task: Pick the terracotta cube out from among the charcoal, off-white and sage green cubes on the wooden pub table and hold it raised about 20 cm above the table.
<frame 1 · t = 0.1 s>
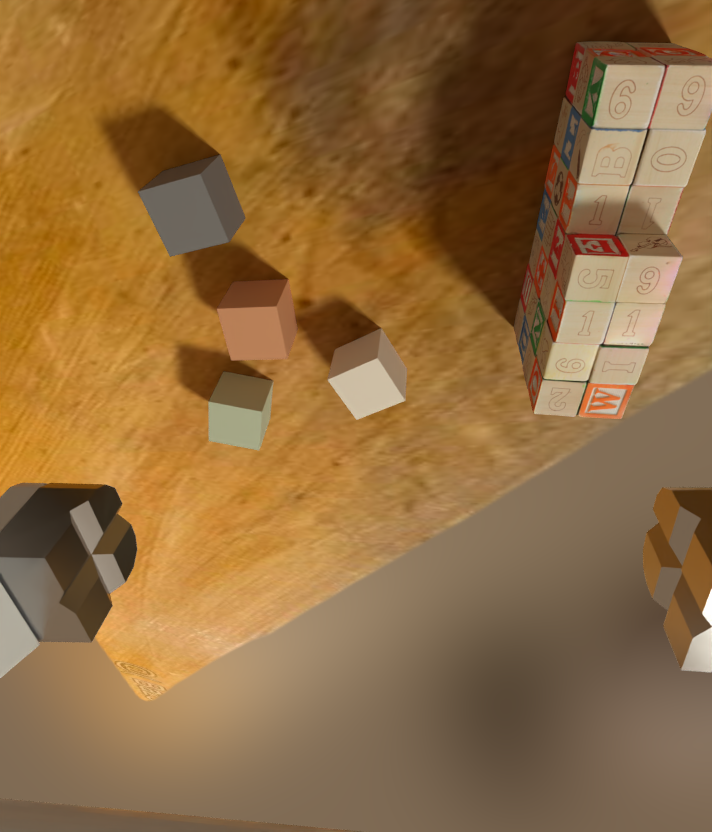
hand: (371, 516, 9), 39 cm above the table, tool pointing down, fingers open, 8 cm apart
stack of blocks: (579, 207, 43), on the table
terracotta cube: (266, 305, 51), on the table
sage green cube: (247, 395, 58), on the table
charcoal cube: (205, 194, 45), on the table
off-white cube: (371, 358, 54), on the table
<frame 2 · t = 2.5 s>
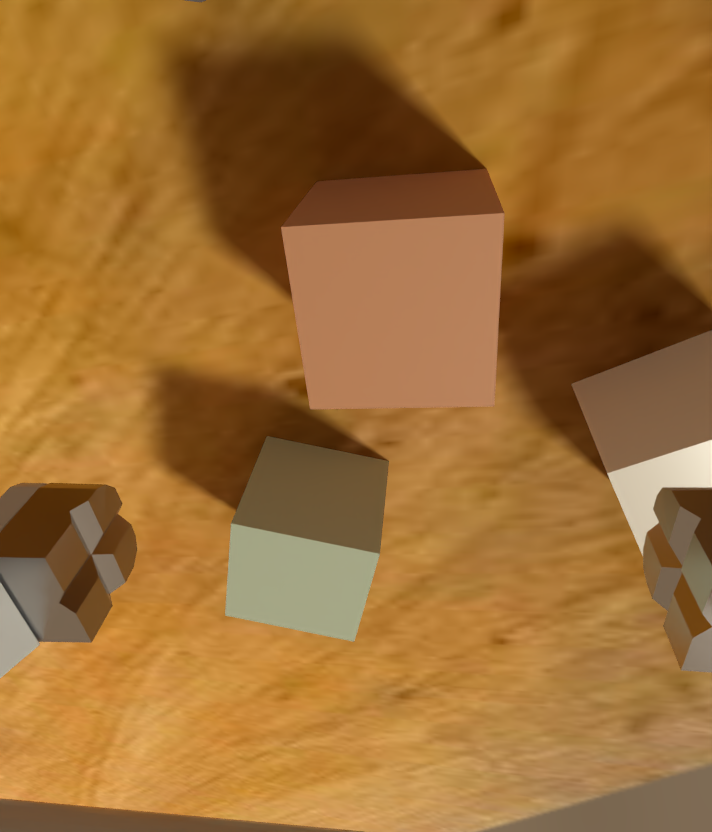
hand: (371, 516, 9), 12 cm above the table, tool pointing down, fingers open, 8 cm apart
terracotta cube: (403, 257, 18), on the table
sage green cube: (319, 492, 24), on the table
off-white cube: (663, 410, 20), on the table
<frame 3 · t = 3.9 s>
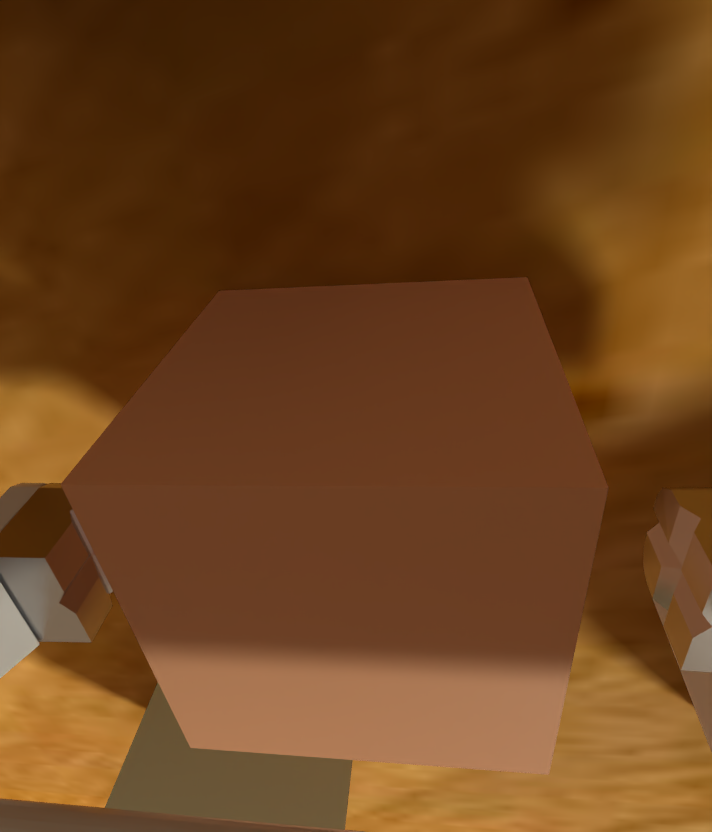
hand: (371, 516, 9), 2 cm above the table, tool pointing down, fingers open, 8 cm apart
terracotta cube: (377, 410, 11), on the table
sage green cube: (263, 696, 17), on the table
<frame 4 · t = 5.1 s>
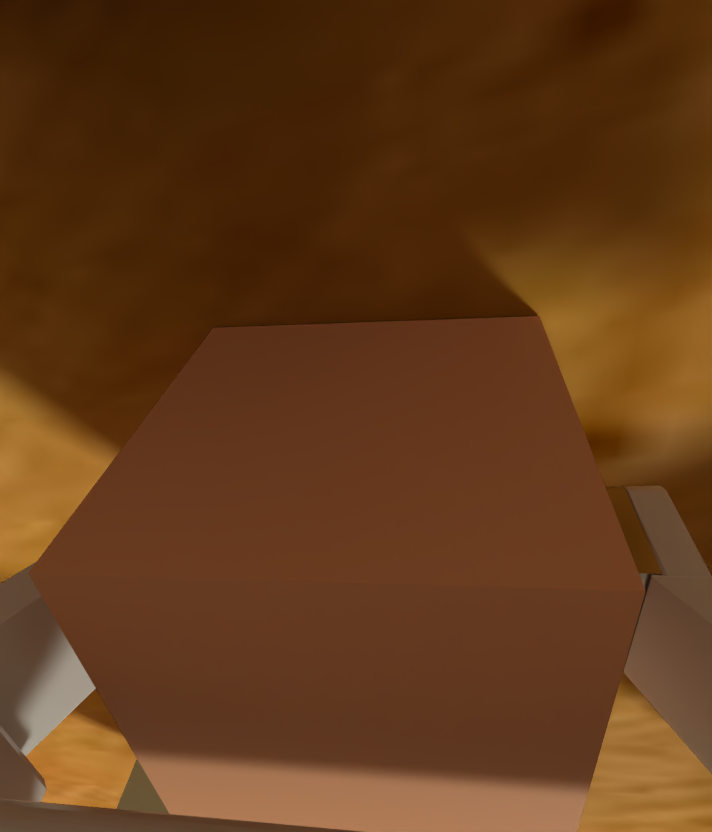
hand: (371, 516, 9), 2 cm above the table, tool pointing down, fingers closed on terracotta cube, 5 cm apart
terracotta cube: (380, 452, 10), on the table, touching gripper
sage green cube: (262, 731, 16), on the table
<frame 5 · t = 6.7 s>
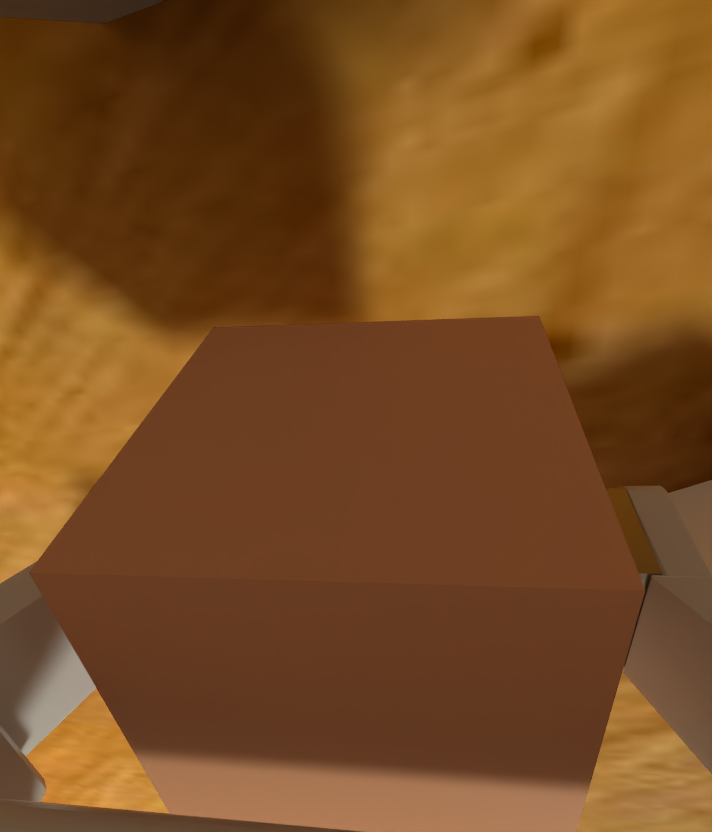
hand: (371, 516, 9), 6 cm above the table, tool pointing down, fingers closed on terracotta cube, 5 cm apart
terracotta cube: (380, 452, 10), point 4 cm above the table, touching gripper
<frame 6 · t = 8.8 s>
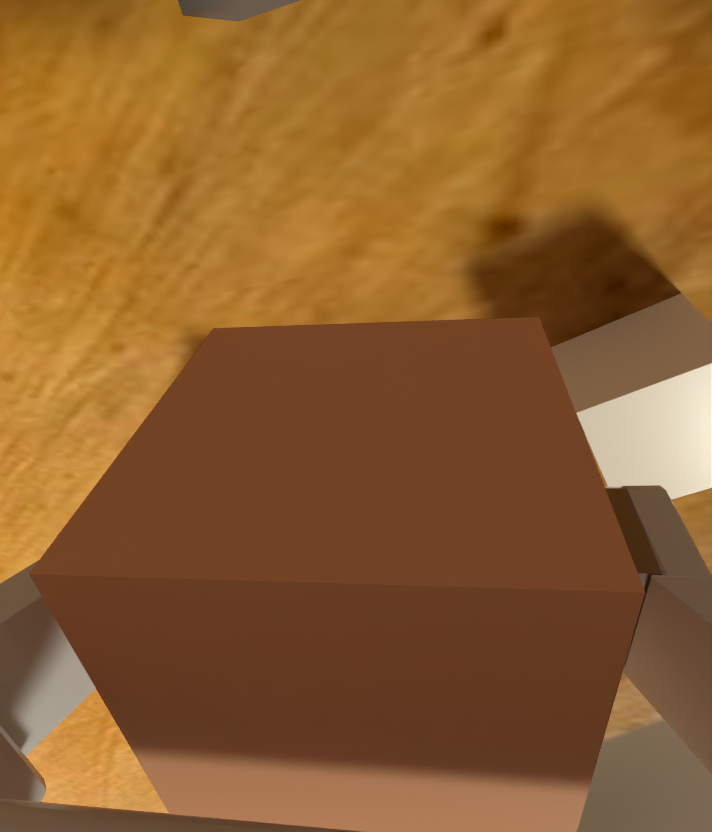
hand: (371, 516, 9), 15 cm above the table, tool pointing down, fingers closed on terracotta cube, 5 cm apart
terracotta cube: (380, 453, 10), point 13 cm above the table, touching gripper
off-white cube: (631, 370, 23), on the table
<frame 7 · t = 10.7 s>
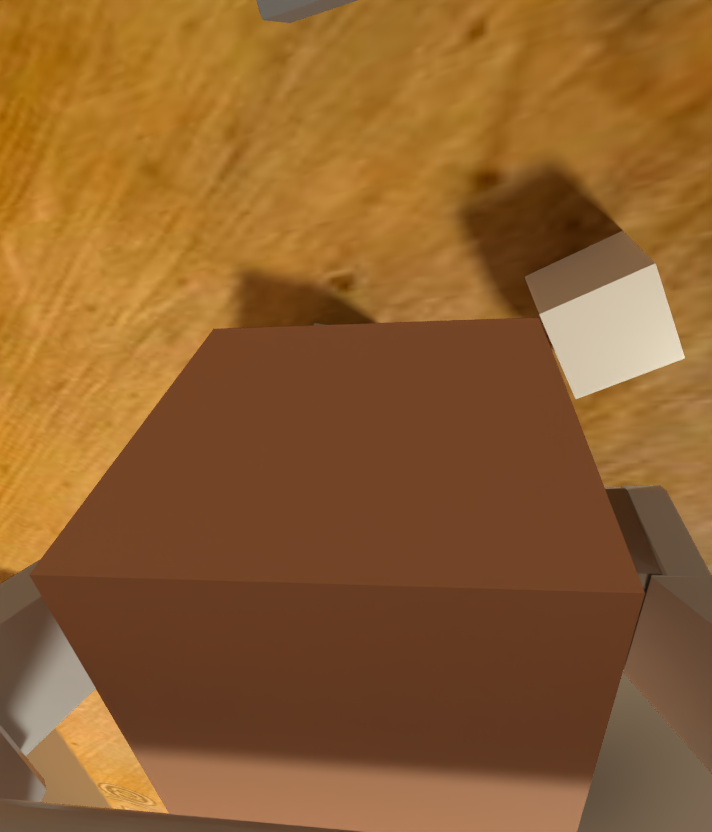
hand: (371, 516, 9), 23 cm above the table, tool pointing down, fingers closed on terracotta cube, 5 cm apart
terracotta cube: (380, 453, 10), point 21 cm above the table, touching gripper
off-white cube: (587, 295, 30), on the table
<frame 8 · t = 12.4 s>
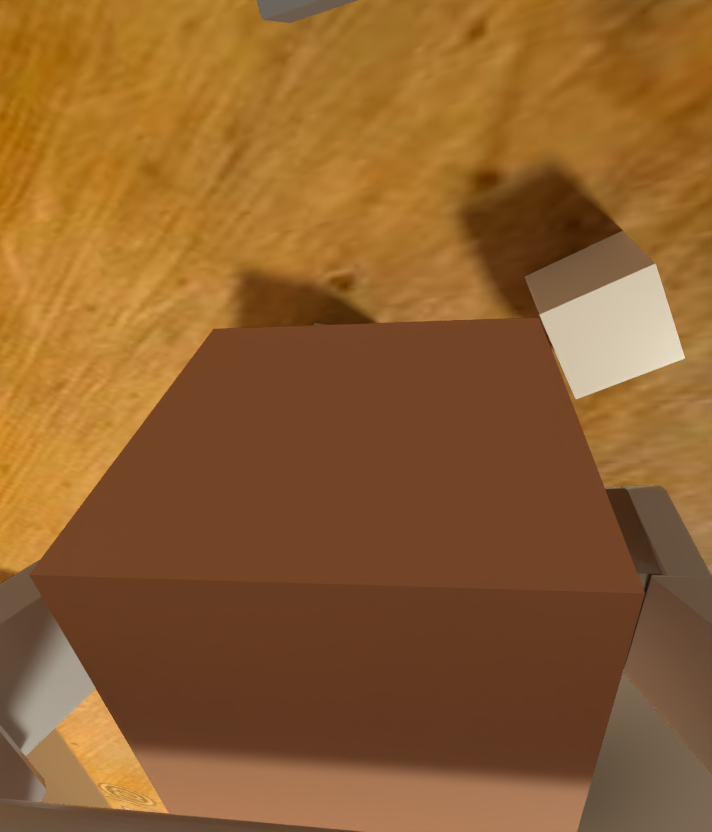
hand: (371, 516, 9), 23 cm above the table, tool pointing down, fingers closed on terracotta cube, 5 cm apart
terracotta cube: (380, 453, 10), point 21 cm above the table, touching gripper
off-white cube: (587, 295, 30), on the table
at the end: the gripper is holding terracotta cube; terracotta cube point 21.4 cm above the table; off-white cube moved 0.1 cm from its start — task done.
